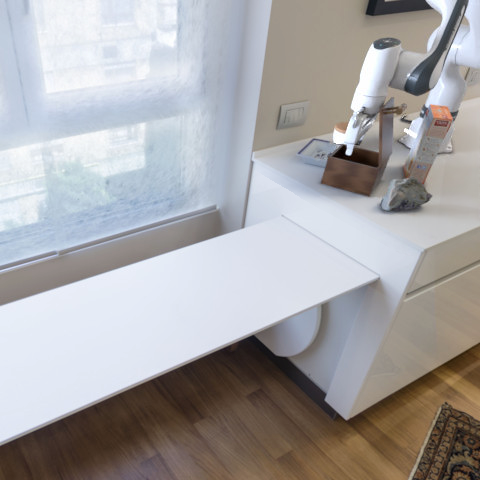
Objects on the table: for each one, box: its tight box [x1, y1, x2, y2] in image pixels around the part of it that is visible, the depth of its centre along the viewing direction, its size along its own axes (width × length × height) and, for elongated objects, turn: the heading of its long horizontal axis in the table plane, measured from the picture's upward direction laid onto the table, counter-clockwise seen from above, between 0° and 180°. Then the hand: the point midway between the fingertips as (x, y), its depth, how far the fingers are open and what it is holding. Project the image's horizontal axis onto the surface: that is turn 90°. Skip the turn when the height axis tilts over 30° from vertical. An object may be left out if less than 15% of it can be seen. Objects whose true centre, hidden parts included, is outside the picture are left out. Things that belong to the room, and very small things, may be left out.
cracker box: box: [403, 104, 454, 185], centre depth 143 cm, size 14×6×21 cm, turn 160°
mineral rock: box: [380, 176, 433, 212], centre depth 129 cm, size 13×11×10 cm
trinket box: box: [332, 121, 358, 147], centre depth 164 cm, size 11×11×9 cm
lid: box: [378, 96, 408, 168], centre depth 130 cm, size 17×14×5 cm
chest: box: [320, 144, 391, 197], centre depth 142 cm, size 16×14×9 cm
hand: (353, 149), depth 139 cm, fingers open, 8 cm apart
